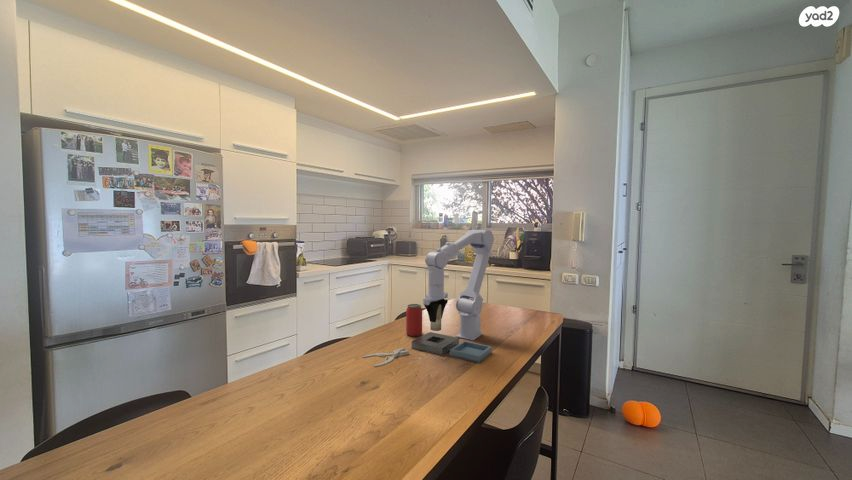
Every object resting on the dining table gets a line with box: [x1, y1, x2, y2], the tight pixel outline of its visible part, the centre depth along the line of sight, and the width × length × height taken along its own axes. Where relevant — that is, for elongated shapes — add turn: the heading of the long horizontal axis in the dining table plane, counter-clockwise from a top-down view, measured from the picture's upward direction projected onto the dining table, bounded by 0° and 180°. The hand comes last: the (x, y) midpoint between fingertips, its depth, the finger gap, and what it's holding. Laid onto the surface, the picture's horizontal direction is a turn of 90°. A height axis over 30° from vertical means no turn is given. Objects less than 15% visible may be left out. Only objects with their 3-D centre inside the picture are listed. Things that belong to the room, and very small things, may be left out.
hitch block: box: [411, 331, 460, 356], centre depth 129 cm, size 13×13×2 cm
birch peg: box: [430, 305, 442, 332], centre depth 128 cm, size 4×4×9 cm
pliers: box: [361, 347, 410, 368], centre depth 118 cm, size 10×2×15 cm
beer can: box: [405, 303, 423, 337], centre depth 142 cm, size 7×7×12 cm
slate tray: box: [449, 340, 493, 364], centre depth 121 cm, size 11×11×2 cm
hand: (435, 320), depth 129 cm, fingers closed on birch peg, 4 cm apart
